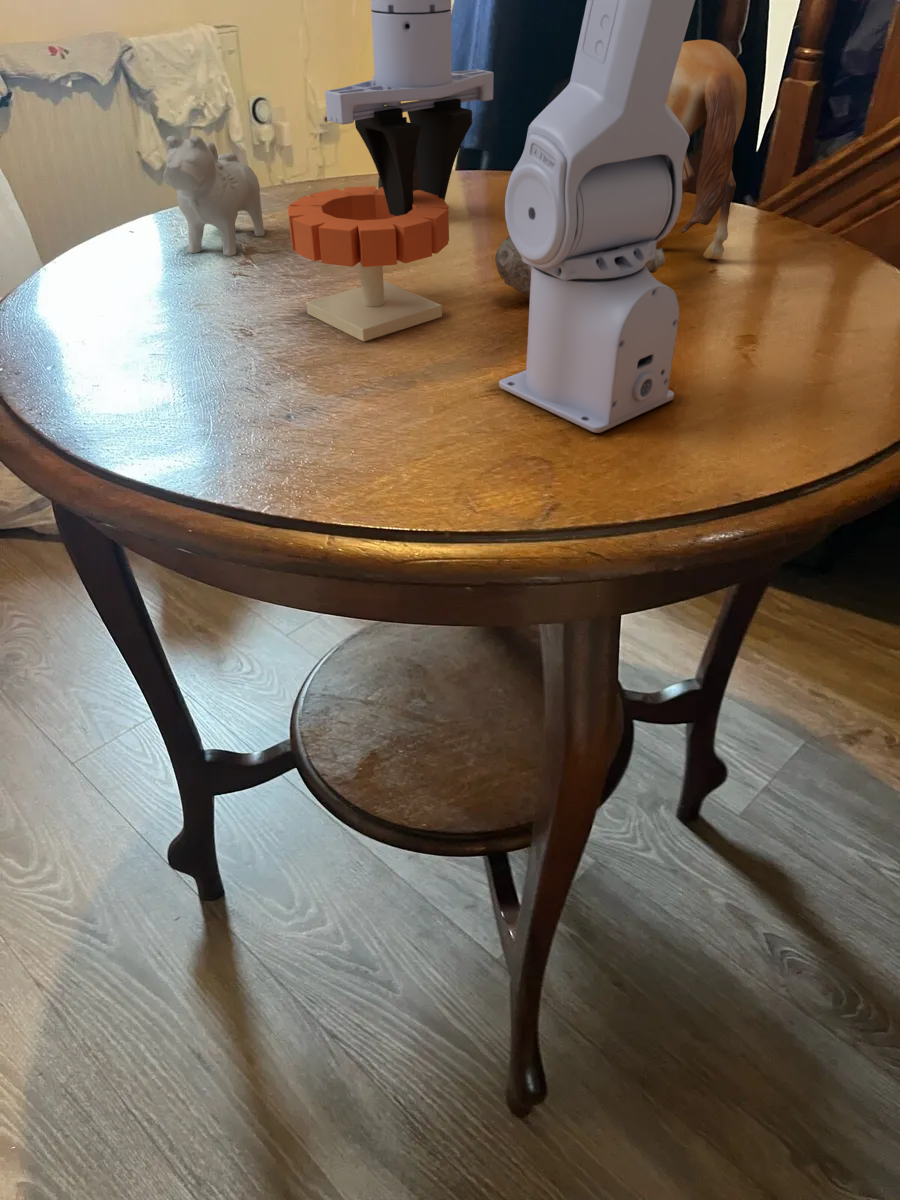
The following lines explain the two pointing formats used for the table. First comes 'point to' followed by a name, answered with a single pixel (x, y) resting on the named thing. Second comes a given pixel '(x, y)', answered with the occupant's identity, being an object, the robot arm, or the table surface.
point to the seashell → (520, 272)
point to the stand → (373, 307)
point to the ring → (367, 227)
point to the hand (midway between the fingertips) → (416, 211)
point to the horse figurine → (709, 128)
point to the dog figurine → (211, 190)
